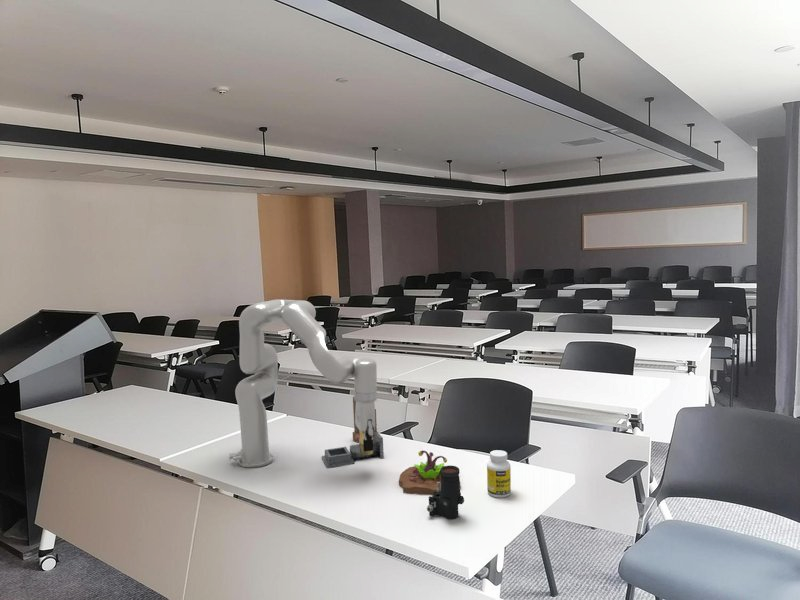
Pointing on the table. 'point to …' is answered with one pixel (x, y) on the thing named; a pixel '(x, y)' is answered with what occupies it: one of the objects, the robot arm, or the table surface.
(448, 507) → the scope
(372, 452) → the cylinder
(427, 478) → the plant
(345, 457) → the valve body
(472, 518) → the table surface
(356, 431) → the wooden block
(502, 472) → the supplement bottle
